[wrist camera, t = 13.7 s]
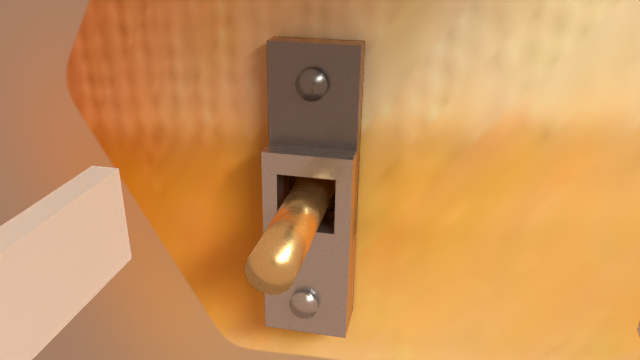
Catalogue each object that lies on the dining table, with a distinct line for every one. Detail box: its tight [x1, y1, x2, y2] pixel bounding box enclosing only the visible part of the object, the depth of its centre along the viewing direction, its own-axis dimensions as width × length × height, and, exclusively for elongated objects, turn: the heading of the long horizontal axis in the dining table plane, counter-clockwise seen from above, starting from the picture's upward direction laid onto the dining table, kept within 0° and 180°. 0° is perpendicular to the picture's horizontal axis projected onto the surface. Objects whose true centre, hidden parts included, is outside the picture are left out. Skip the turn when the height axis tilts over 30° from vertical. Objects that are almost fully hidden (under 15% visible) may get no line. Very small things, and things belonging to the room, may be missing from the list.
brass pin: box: [244, 177, 335, 295], centre depth 42 cm, size 3×3×14 cm
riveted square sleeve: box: [261, 36, 365, 338], centre depth 46 cm, size 24×7×5 cm, turn 179°
